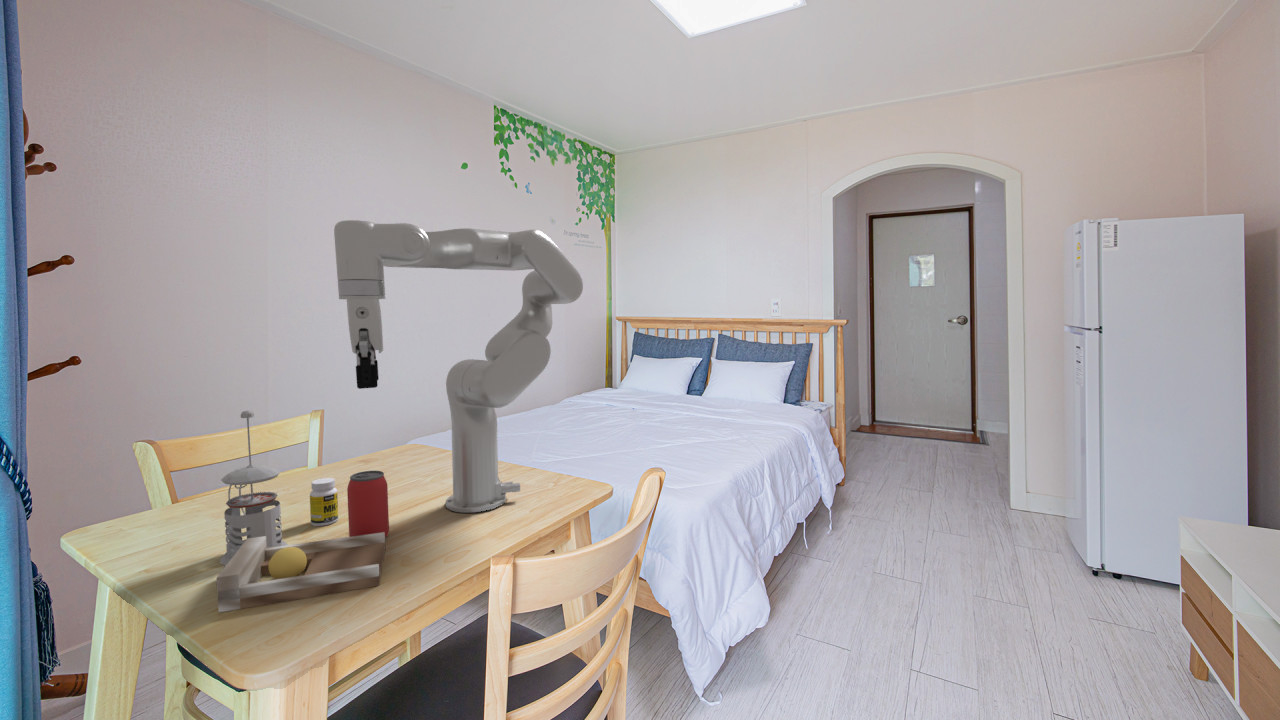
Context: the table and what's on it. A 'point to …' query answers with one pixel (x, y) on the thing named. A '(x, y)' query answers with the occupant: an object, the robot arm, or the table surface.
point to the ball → (287, 563)
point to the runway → (327, 573)
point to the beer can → (368, 503)
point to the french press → (251, 507)
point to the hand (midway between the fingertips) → (368, 384)
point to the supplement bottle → (323, 502)
